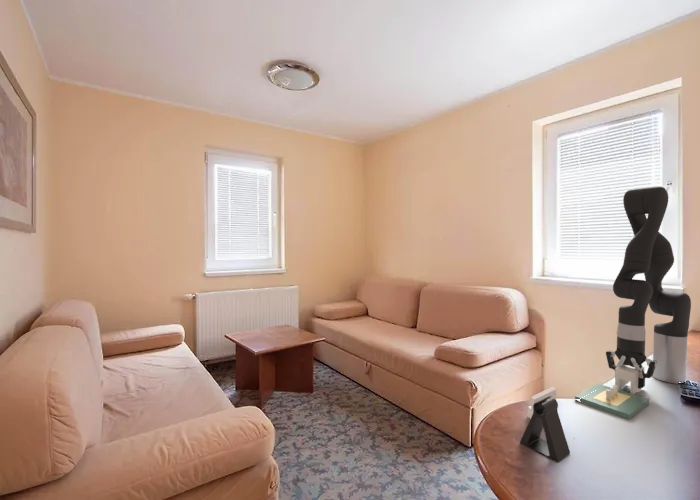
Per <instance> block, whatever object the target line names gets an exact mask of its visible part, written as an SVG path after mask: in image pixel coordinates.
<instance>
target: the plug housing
mask: <svg viewBox="0 0 700 500" xmlns="http://www.w3.org/2000/svg"><path fill="white" fill-rule="evenodd" d="M643 370H644V371H645V366H643ZM614 374H615V375H614V379H615V382H614V383H615V384H614V385H616V386H618V390H621V389H622V388H623V387H624V386H626V385H627V384H629V383H630V385H629V386H630V391H629V393H631V394H634V395H636V393H638V392H639V391H641V390H642V389H643V388H641V389H639V388H638V378H639V375H638V371H636V370H635V367H631V366H629V365H623V366H622V367H620V366H619V367H617V368H616V373H614Z"/></svg>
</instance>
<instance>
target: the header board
mask: <svg viewBox="0 0 700 500" xmlns="http://www.w3.org/2000/svg"><path fill="white" fill-rule="evenodd" d="M595 390H596V391H595ZM593 391H594V392H593ZM591 392H592V393H591ZM588 394H589V395H588ZM586 395H587V396H586ZM584 396H585V397H584ZM582 397H583V398H582ZM580 398H581V399H580ZM575 399H580V401H581V402H583V403H585V404H584V405H586V404H587V405H586V406H589V407H592V408H594V409H596V410H597V409H598V410H600V411H603V412H606V413H609V414H612V415H614V416H617V417H620V418H623V419H625V420H627V421H628V420H629V421H630V420H631V419H632V418H633V417H635V416H636V415H637V414H638V413H639V412H641V411H642V410H643V409H644V408H645V407H647V406H648V405H649V404H650V399H649V398H647V397H645V396H640V395H637V394H632V393H630V392H627V391H624V390H621V389H619V390H618V386H616V385H615V384H614V385H613V387H611V386H607V385H603V384H601V383H596V384H594V385H592V386H591V387H589V388H587V389H585V390H583V391H581V392H579V393H578V394H576V395H574V400H575ZM583 403H582V404H583Z"/></svg>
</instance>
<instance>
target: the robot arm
mask: <svg viewBox="0 0 700 500" xmlns="http://www.w3.org/2000/svg"><path fill="white" fill-rule="evenodd" d="M622 199H623V208H624V211H625V214H626V216H627V219H628V222H629V224H630V227H631V229H632V233H633V238H631V240H630V241H629V242H628V244H627V245H626V248H625V252H624V258H623V264H622V267H621V268H620V270H619V272H618V274H617V276H616V278H615V280H614V282H613V285H612V290H613V294H614V295H615V296H616V297H617V298H620V299H625V300H626V299H627V300H633V303H632V304H631V305H621V306H620V307H619V308H618V323H617V329H616V349H615V350H611V349H610V350H606V351H605V356H606V360H607V365H608V368H609V369H610V370H611V369H612V370H613V371H614V372H615V373H616V368H617V367H619V366H620V367H622V366H623V365H629V366H631V367H635V370H636V371H638V375H639V378H638V388H639V389H640V390H642V389H643V388H645V386H646V379H650V378H652V377H653V378H654V379H655V380H659V381H663V382H665V383H669V384H670V383H671V384H675V385H679V384H678V383H679V382H680V381H686V382H687V365H688V364H687V360H688V356H687V355H688V332H689V326H690V317H691V312H692V311H691V309H692V300H691V297H690V295H689V294H688V293H687V292H686V293H685V292H679V291H669V290H664V289H663V285H662V283H663V280H664V278H665V276H666V275H667V274H668V272H669V271H670V270H671V268H672V266H674V263H675V256H674V251H673V248H672V245H671V242H670V241H669V240H668V239H667V237H665V235H663V234H662V233H661V232H659V231H660V229H661V227H662V222H663V219H664V217H665V214H666V211H667V208H668V204H669V193H668V191H667V189H666V188H665V187H663V186H647V187H640V188H639V187H637V188H631V189H628V190H627V191H625V192H624V194H623V198H622ZM647 215H648V216H647ZM638 274H643V275H644V279H634V277H635V276H636V275H638ZM648 306H649V308H650V310H651V311H652V312H653V313H654V314H657V315H661V316H662V315H663V316H668V317H673V318H672V320H671V321H669V322H665V323H663V322H662V323H661V322H660V323H656V324H654V326H653V343H652V359H649V358H647V356H646V326H645V325H646V312H647V309H648ZM614 357H617V359H618V360H619V361H618V362H617V364H616V362H615V359H614ZM645 362H646V365H647V367H648V368H647V371H646V372H645V369H644V370H643V367H644V366H643V364H644V363H645ZM615 373H614V374H615ZM641 388H642V389H641Z"/></svg>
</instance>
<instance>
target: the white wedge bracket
mask: <svg viewBox="0 0 700 500" xmlns="http://www.w3.org/2000/svg"><path fill="white" fill-rule="evenodd" d="M546 397H550V398H549V399H547V401H549V400H551V399H553V398H554V399H555V400H556V401H557V388H555V387H554V386H551V387H549V388H546V389H544V390H542V391H541V392H540V391H539V392H538V393H536V394H534V395H532V396H531V400H530V405H528V406H527V408H528V409H527V418H528V419H529V418H530V419H531V417H532V415H533V405H534V404H535V403H536V402H538V401H540V400H542V399H544V398H546ZM530 419H529V420H530Z"/></svg>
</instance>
